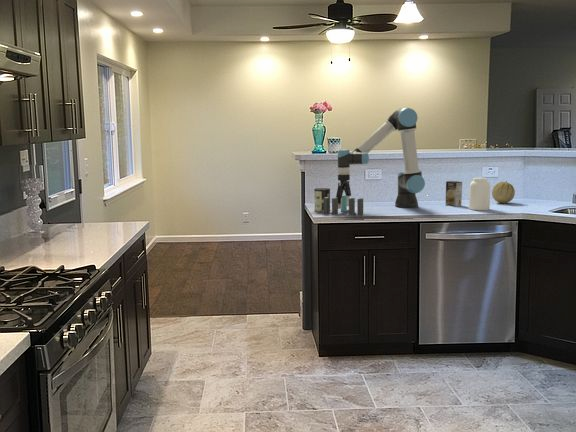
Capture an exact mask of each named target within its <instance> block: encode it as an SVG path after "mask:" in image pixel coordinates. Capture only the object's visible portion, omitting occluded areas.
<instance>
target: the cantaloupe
mask: <svg viewBox="0 0 576 432" xmlns="http://www.w3.org/2000/svg"><path fill="white" fill-rule="evenodd" d="M491 190H492V191H491V196H492V197H493V200H494V201H495V202H497V203H499V204H507V203H510V202H511V201H513V199H514V198H515V194H516V190H515V187H514V186H513V184H511V183H509V182H508V181H507V180H505V181H499V182H496V184H495V185H493V187H492V189H491Z"/></svg>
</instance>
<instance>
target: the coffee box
mask: <svg viewBox="0 0 576 432" xmlns="http://www.w3.org/2000/svg"><path fill="white" fill-rule="evenodd" d="M462 198H463V181H460V180H458V181H457V180H446V181H445V206H451V207H459V206H462Z"/></svg>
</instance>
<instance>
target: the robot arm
mask: <svg viewBox="0 0 576 432" xmlns="http://www.w3.org/2000/svg"><path fill="white" fill-rule="evenodd" d="M384 121H385V122H384V123H383V124H382V125H381V126H379V128H377V129H376V130H375V131H374V132H373V133H372V134H370V136H369V137H367V138H366V139H365V140H364V141H363V142H362V143H360V144H359V145H358V146H357V147H356V148H355V149H354V150H353V151H350V149H339V150H338V151H337V169H336V170H337V181H338V182H337V190H336V195H335V197H336V198H338V210H341V209H342V195H347V207H349V199H350V198H351V197H352V192H351V187H350V179H351V177H350V172H351V169H350V168H351V166H350V165H368V164H369V161H370V156H369V153H370V152H372V151H373V150H374V148H375V147H377V146H379V144H380V143H382V141H384V140H385V139H386V138H387V137H388V136H389V135H390V134H392V133H393V132H396V131H398V132H399V133H400V138H401V147H402V155H403V157H402V158H403V162H404V163H403V164H404V165H403V166H404V170H403V171H399V172H398V173H397V196H396V199H395V202H394V206H395V207H397V208H416V207H419V201H418V199H417V195H416V194H418V193H420V192H422V191H423V190H424V188H425V185H426V182H425V178H424V177H423V173H422V170H421V169H420V167H419V161H418V160H419V159H418V151H417V142H416V136H415V134H416V133H415V131H416V130H417V122H418V114H417V112H416V110H414V109H413V108H410V107H404V108H398V109H396V110H395V111H394V112H392V114H391V115H390V116H389V117H388V118H386V119H385V120H384ZM339 181H340V182H339ZM343 193H345V194H343Z"/></svg>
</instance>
